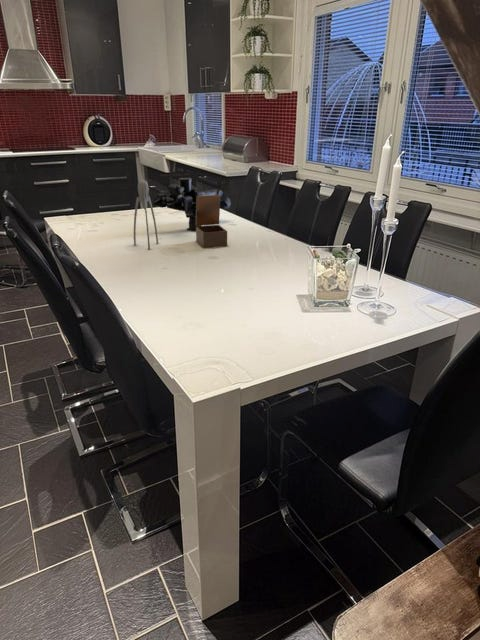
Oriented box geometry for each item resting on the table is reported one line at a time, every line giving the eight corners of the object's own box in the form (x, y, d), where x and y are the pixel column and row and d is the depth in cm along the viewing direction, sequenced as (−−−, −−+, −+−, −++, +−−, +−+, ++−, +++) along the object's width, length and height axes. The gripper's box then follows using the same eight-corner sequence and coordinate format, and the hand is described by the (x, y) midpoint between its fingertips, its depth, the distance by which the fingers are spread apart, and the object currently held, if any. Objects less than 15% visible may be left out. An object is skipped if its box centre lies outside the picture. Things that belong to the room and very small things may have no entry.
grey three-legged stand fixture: (149, 249, 213) (144, 182, 201) (129, 248, 215) (123, 181, 203) (158, 243, 223) (154, 178, 211) (139, 242, 225) (133, 177, 213)
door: (220, 195, 221) (219, 194, 221) (196, 196, 217) (196, 195, 218) (219, 224, 229) (218, 223, 229) (196, 225, 225) (195, 225, 226)
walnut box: (227, 246, 220) (227, 231, 217) (203, 248, 217) (203, 232, 214) (218, 239, 232) (218, 224, 229) (196, 241, 228) (195, 226, 226)
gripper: (167, 181, 238) (145, 186, 227) (195, 185, 228) (173, 190, 217) (169, 203, 243) (147, 209, 232) (196, 208, 233) (174, 214, 222)
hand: (160, 205), depth 225 cm, fingers open, 9 cm apart
